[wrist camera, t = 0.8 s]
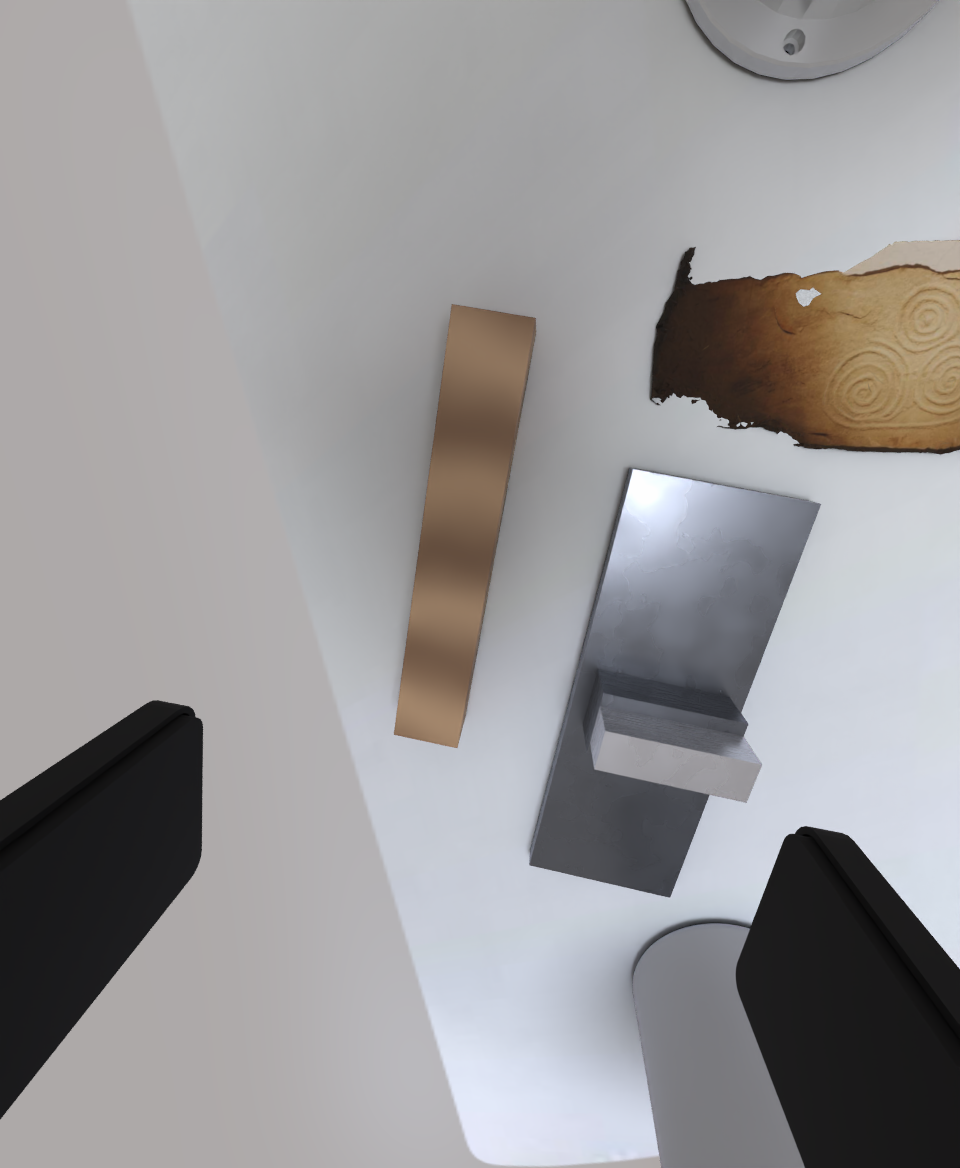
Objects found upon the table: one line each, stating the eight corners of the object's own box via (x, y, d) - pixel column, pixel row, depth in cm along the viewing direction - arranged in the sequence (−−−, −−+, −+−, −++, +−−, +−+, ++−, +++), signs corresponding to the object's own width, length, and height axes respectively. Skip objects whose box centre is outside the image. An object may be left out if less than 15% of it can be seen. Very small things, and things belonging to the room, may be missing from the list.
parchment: (1228, 234, 23) (1254, 226, 22) (1145, 457, 26) (1165, 457, 25) (663, 247, 26) (666, 241, 25) (642, 446, 29) (644, 447, 28)
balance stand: (629, 467, 29) (654, 479, 22) (809, 500, 28) (887, 522, 22) (529, 851, 37) (527, 938, 31) (666, 883, 37) (692, 978, 31)
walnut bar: (463, 320, 28) (451, 304, 24) (536, 332, 28) (535, 317, 24) (409, 701, 35) (393, 734, 31) (466, 713, 35) (457, 748, 31)
